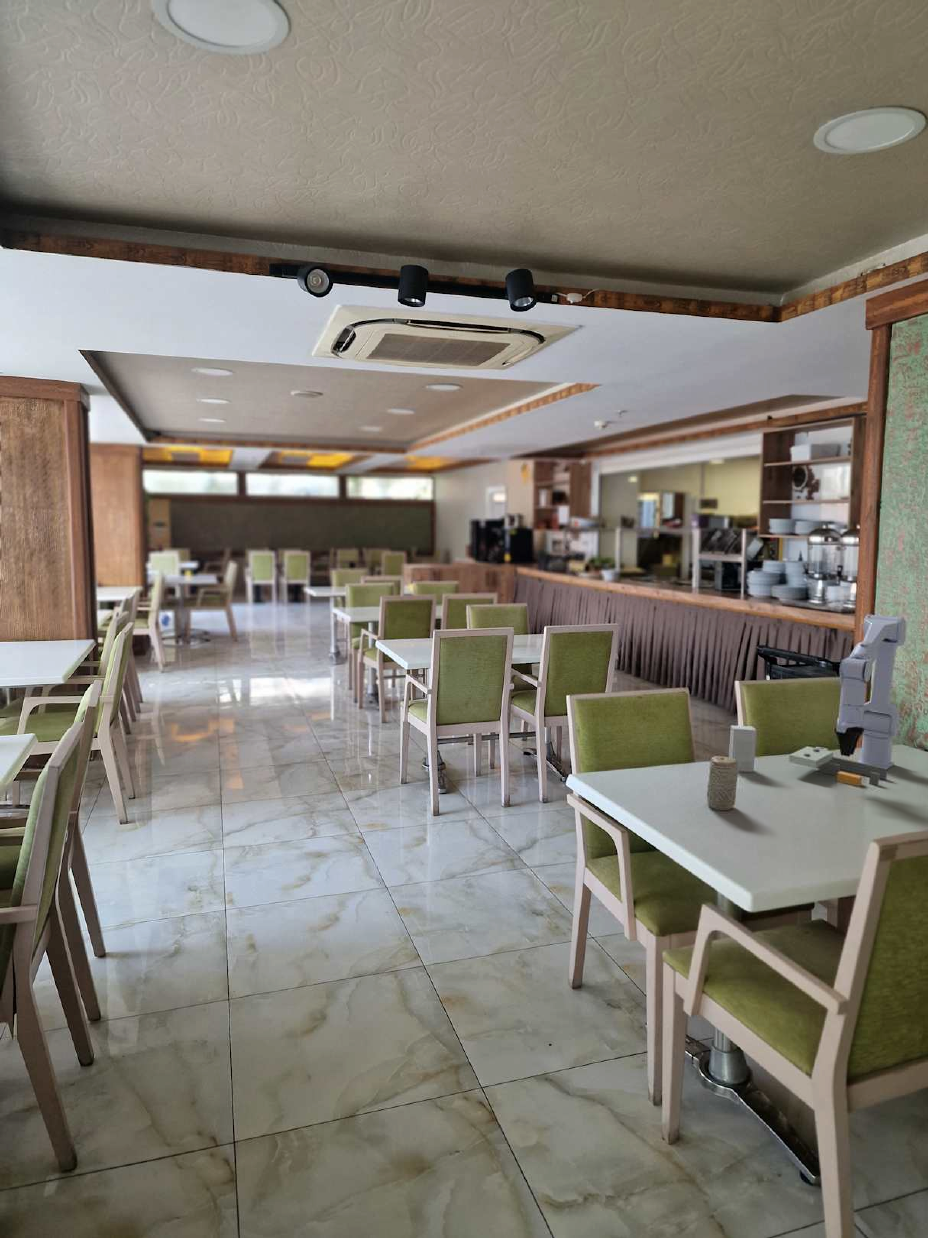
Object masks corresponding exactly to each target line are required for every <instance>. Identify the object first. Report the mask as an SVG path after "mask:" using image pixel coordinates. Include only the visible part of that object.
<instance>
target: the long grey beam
mask: <svg viewBox="0 0 928 1238" xmlns="http://www.w3.org/2000/svg"><path fill="white" fill-rule="evenodd" d="M840 770H841V771H843V772H848V773H852V774H853V773H854V774H856V775H861V776H862V775H863V776H867V777H869V780H868V781H869V783H868V784H870V785H874V786H879V783H880V780H884V781H886V780H887V776H888V769H887V768H883V767H878V766H874V765H869V764H865V763H860V762H857V761H856V760H850V759H847V758H842V757H837V756H833V758H832V759H831V760H830V761H828V762H826V763H824V764H822V765H820V766H819V768H818V772H819V773H823V772H824V773H823V774H828V775H832V776H835V775H836V777H837V773H838V772H840Z"/></svg>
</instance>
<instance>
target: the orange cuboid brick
mask: <svg viewBox="0 0 928 1238" xmlns="http://www.w3.org/2000/svg"><path fill="white" fill-rule="evenodd" d="M862 780H863V776H862V775H859V774H855V773H854V774H853V773H851V772H847V771H843V770H841V771H840V770H839V772H838V773H837V776H836V781H837V782H840V783H843V782H844V784H846V785H847V784H848V785H852V786H855V785H856V786H855V787H859V786H861V785H862Z"/></svg>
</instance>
